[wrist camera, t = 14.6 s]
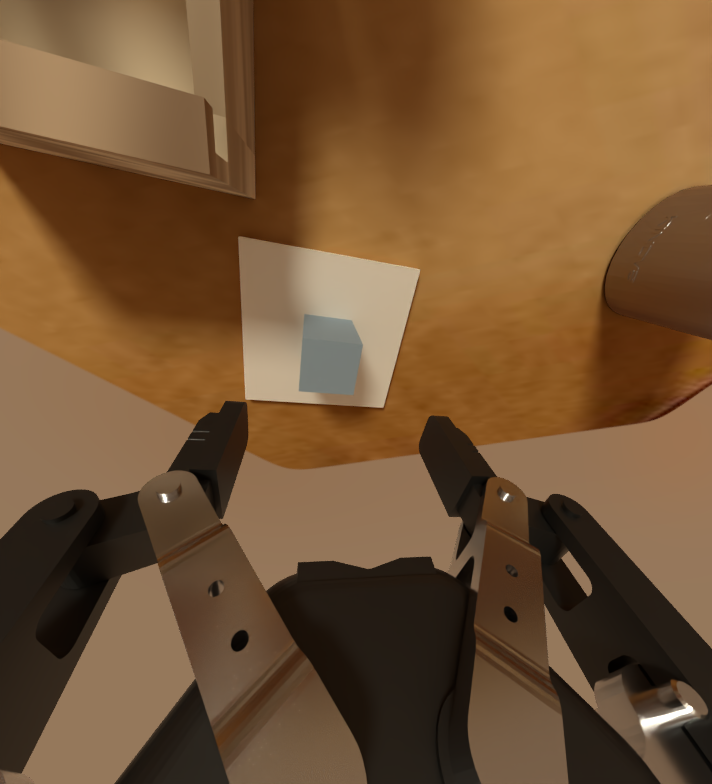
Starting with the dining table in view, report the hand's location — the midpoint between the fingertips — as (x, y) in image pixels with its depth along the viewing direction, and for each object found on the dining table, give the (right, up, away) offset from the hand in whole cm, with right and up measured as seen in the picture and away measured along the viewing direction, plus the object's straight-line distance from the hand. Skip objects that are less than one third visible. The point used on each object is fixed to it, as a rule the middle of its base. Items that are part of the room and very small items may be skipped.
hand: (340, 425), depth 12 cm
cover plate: (-2, +6, +10) cm, 12 cm away
